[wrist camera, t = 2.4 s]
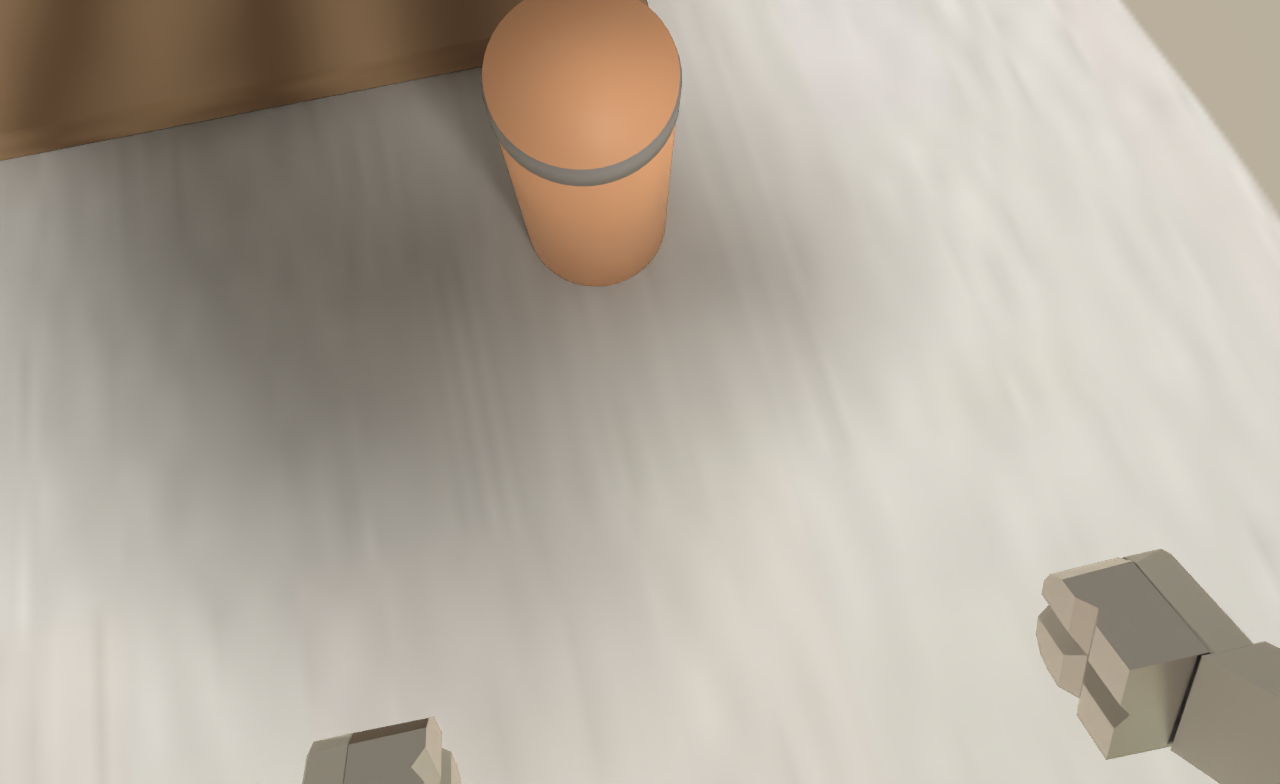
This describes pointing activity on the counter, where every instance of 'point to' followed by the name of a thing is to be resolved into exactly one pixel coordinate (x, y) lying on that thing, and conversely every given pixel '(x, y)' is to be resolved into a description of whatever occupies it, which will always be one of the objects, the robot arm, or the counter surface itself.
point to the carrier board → (212, 59)
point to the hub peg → (586, 130)
